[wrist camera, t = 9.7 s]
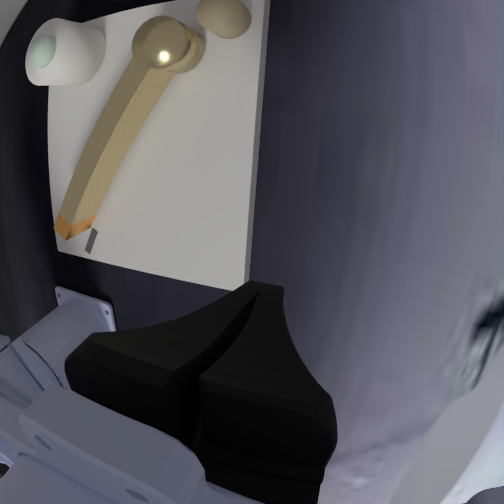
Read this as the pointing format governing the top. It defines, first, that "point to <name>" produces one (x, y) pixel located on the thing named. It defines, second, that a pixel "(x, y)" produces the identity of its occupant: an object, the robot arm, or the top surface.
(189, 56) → the adjusting lever
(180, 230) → the base
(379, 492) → the top surface
